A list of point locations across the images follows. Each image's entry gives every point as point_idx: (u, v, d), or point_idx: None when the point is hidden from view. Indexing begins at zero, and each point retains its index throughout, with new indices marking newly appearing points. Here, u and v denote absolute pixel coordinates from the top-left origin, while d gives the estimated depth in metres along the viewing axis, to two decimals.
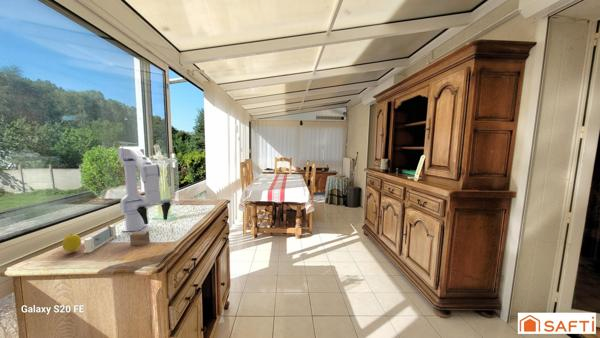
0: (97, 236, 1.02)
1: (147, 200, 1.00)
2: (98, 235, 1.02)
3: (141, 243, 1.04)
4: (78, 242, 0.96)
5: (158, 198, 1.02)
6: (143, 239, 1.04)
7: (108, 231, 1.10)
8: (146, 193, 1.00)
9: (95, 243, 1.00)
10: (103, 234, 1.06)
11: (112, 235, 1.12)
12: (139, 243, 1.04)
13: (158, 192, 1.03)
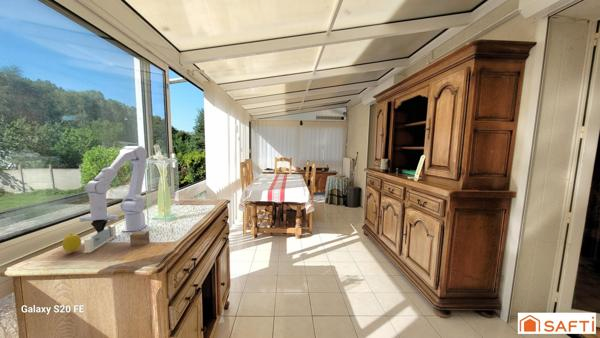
0: (97, 236, 1.02)
1: None
2: (98, 235, 1.02)
3: (141, 243, 1.04)
4: (78, 242, 0.96)
5: (98, 215, 1.03)
6: (143, 239, 1.04)
7: (108, 231, 1.10)
8: None
9: (95, 243, 1.00)
10: (103, 234, 1.06)
11: (112, 235, 1.12)
12: (139, 243, 1.04)
13: (99, 209, 1.04)
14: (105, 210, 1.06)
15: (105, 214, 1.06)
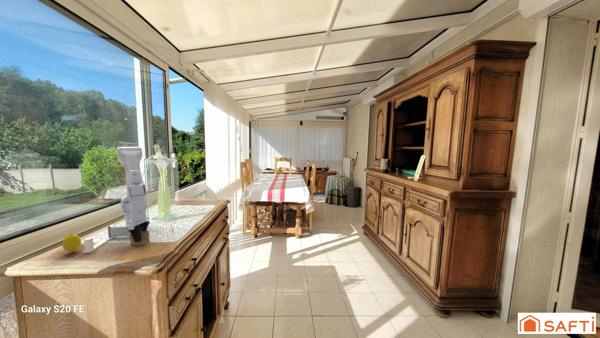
0: None
1: None
2: None
3: (141, 243, 1.04)
4: (78, 242, 0.96)
5: (130, 219, 1.03)
6: (143, 239, 1.04)
7: None
8: None
9: None
10: None
11: None
12: (139, 243, 1.04)
13: (130, 213, 1.02)
14: (134, 216, 1.01)
15: (134, 220, 1.02)
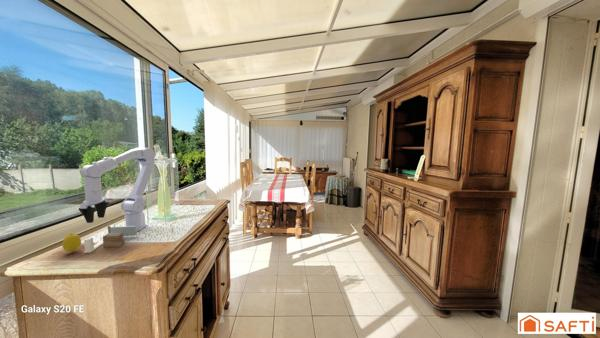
0: None
1: None
2: None
3: (114, 245, 1.02)
4: (78, 242, 0.96)
5: None
6: (117, 241, 1.02)
7: None
8: None
9: None
10: None
11: None
12: (112, 245, 1.02)
13: (85, 193, 1.04)
14: (88, 196, 1.04)
15: (88, 200, 1.04)
